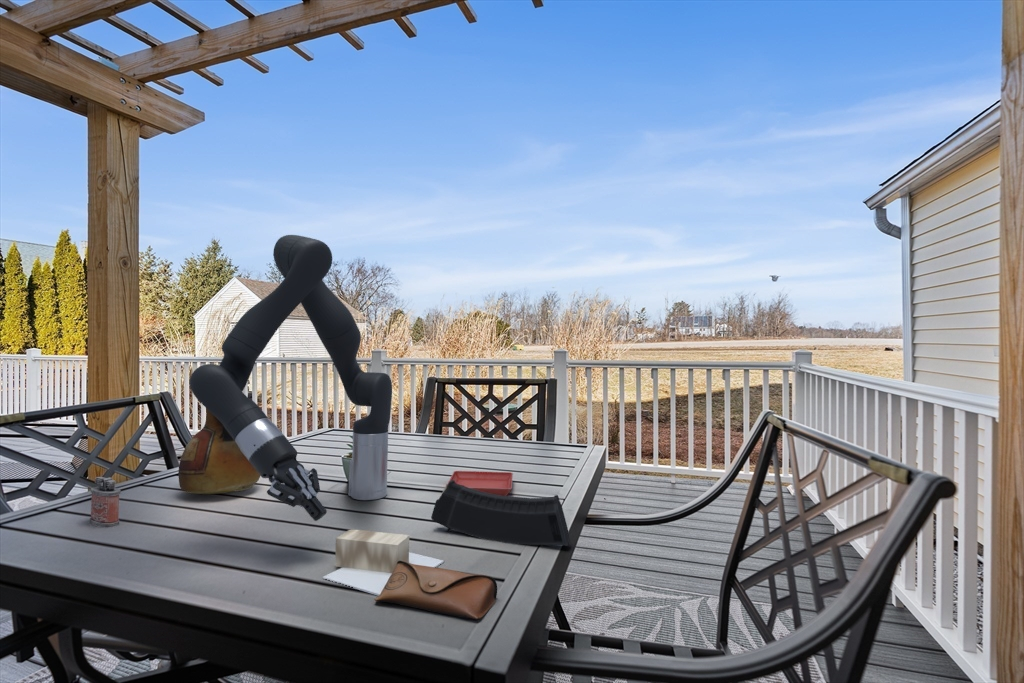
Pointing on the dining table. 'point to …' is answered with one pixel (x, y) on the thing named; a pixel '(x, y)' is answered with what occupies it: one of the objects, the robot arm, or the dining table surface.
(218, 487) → the ceramic pitcher
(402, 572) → the sunglasses case
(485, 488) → the plant saucer
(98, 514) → the lighter
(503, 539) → the magazine
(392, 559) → the birch block
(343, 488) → the dining table surface
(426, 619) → the dining table surface
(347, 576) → the mat
